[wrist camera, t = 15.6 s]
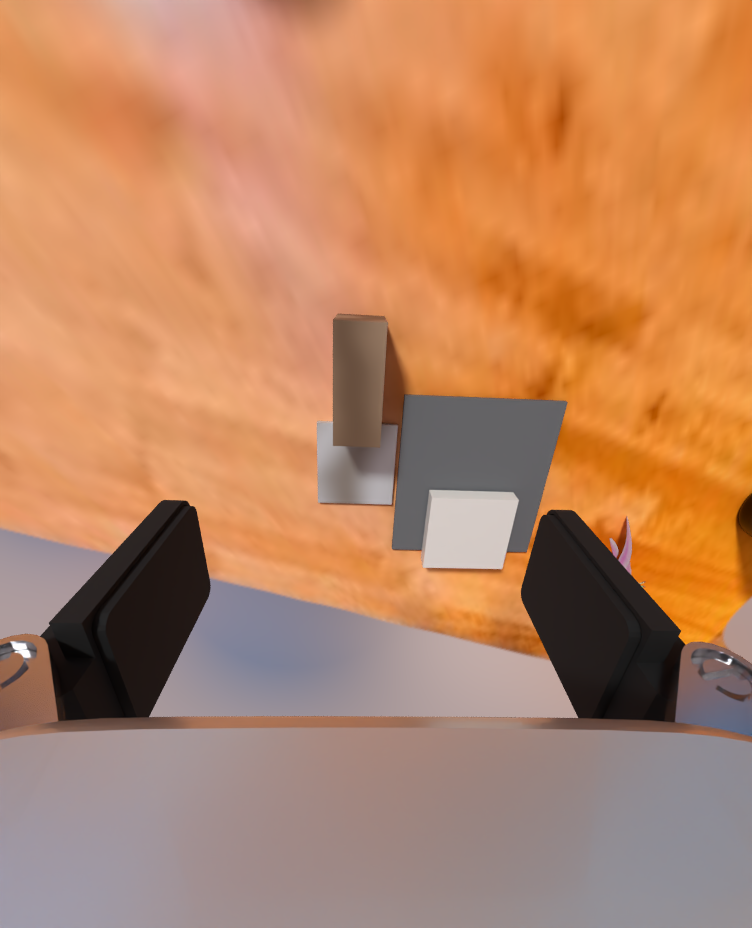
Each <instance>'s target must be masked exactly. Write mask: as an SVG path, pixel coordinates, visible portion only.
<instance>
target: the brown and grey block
mask: <svg viewBox="0 0 752 928" xmlns="http://www.w3.org/2000/svg"><path fill="white" fill-rule="evenodd" d="M387 327H388V322H387V320H386V318H385V317H384V316H371V315H351V314H337V315H336V317H335V318H334V319H333V422H331V421H317V462H318V502H319V503H354V504H388V505H392V493H393V481H394V468H395V456H396V443H397V431H398V424H384V423H382V409H383V393H384V376H385V360H386V343H387Z"/></svg>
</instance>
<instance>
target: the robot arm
mask: <svg viewBox="0 0 752 928" xmlns="http://www.w3.org/2000/svg"><path fill="white" fill-rule="evenodd" d="M209 593H210V579H209V574H208V569H207V563H206V558H205V553H204V548H203V542H202V537H201V532H200V527H199V521H198V516H197V511H196V509H195V507H193V506H190V505H189V503H188V502H187V501H178V500H163V501H161V502H160V503H159V504H158V505H157V506H156V507H155V508H154V510H153V511H152V512H151V513H150V514H149V515H148V516H147V517H146V518H145V519H144V520H143V521H142V523H141V524H140V525H139V526H138V527H137V528H136V529H135V530H134V531H133V532H132V533H131V534H130V536H129V537H128V538H127V539H126V540H125V541H124V542H123V543H122V544H121V545H120V546H119V547H118V549H117V550H116V551H115V552H114V553H113V554H112V555H111V556H110V557H109V558H108V559H107V560H106V562H105V563H104V564H103V565H102V566H101V567H100V568H99V569H98V570H97V571H96V572H95V574H94V575H93V576H92V577H91V578H90V579H89V580H88V581H87V582H86V583H85V584H84V585H83V586H82V588H81V589H80V590H79V591H78V592H77V593H76V594H75V595H74V596H73V597H72V598H71V600H70V601H69V602H68V603H67V604H66V605H65V606H64V607H63V608H62V609H61V610H60V612H59V613H58V614H57V615H56V616H55V617H54V618H53V619H52V620H51V621H50V622H49V624H50V626H49V627H48V628H47V629H46V630H45V632H44V633H43V634H42V635H41V636H38V635H32V634H21V635H14V636H10V637H7V638H3V639H0V928H752V664H751V663H750V662H748V661H747V660H745V659H744V658H743V657H741V656H739V655H737V654H735V653H733V652H731V651H730V650H728V649H725V648H723V647H720V646H717V645H714V644H710V643H705V642H691V643H689V644H687V645H685V644H684V642H683V641H682V640H681V639H680V638H679V637H678V636H679V634H680V632H681V630H680V629H679V628H678V627H677V626H676V625H675V624H674V622H673V621H672V620H671V619H670V618H669V617H668V616H667V615H666V613H665V612H664V611H663V610H662V609H661V608H660V607H659V606H658V604H657V603H656V602H655V601H654V600H653V599H652V598H651V597H650V596H649V594H648V593H647V592H646V591H645V590H644V589H643V588H642V587H641V585H640V584H639V583H638V582H637V581H636V580H635V579H634V578H633V576H632V575H631V574H630V573H629V572H628V571H627V570H626V569H625V567H624V566H623V565H622V564H621V563H620V562H619V561H618V560H617V559H616V557H615V556H614V555H613V554H612V553H611V552H610V551H609V550H608V548H607V547H606V546H605V545H604V544H603V543H602V542H601V541H600V539H599V538H598V537H597V536H596V535H595V534H594V533H593V532H592V530H591V529H590V528H589V527H588V526H587V525H586V524H585V523H584V521H583V520H582V519H581V518H580V517H579V516H578V515H577V514H576V513H575V512H574V511H572V510H550V511H549V512H548V513H547V515H543V516H542V517H541V519H540V523H539V526H538V530H537V534H536V537H535V541H534V544H533V548H532V552H531V555H530V559H529V563H528V566H527V570H526V574H525V577H524V581H523V584H522V588H521V598H522V601H523V604H524V606H525V608H526V610H527V612H528V614H529V616H530V618H531V620H532V623H533V625H534V627H535V629H536V631H537V633H538V635H539V637H540V639H541V641H542V643H543V645H544V647H545V650H546V652H547V654H548V656H549V658H550V660H551V662H552V664H553V666H554V668H555V670H556V672H557V674H558V677H559V679H560V681H561V683H562V685H563V687H564V689H565V691H566V693H567V695H568V697H569V699H570V701H571V703H572V706H573V708H574V710H575V712H576V714H577V716H578V718H512V717H509V718H507V717H346V716H345V717H344V716H340V717H338V716H329V717H328V716H323V717H322V716H300V717H299V716H290V717H289V716H287V717H285V716H280V717H278V716H277V717H275V716H273V717H271V716H270V717H269V716H268V717H267V716H266V717H265V716H256V717H255V716H254V717H149V716H150V714H151V712H152V710H153V708H154V706H155V704H156V702H157V699H158V697H159V696H160V693H161V692H162V689H163V688H164V686H165V684H166V681H167V680H168V678H169V675H170V673H171V671H172V669H173V667H174V665H175V663H176V661H177V659H178V657H179V655H180V653H181V651H182V649H183V647H184V645H185V643H186V641H187V639H188V637H189V635H190V633H191V631H192V629H193V627H194V625H195V623H196V621H197V619H198V617H199V615H200V613H201V611H202V609H203V607H204V605H205V603H206V601H207V599H208V597H209Z"/></svg>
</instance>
